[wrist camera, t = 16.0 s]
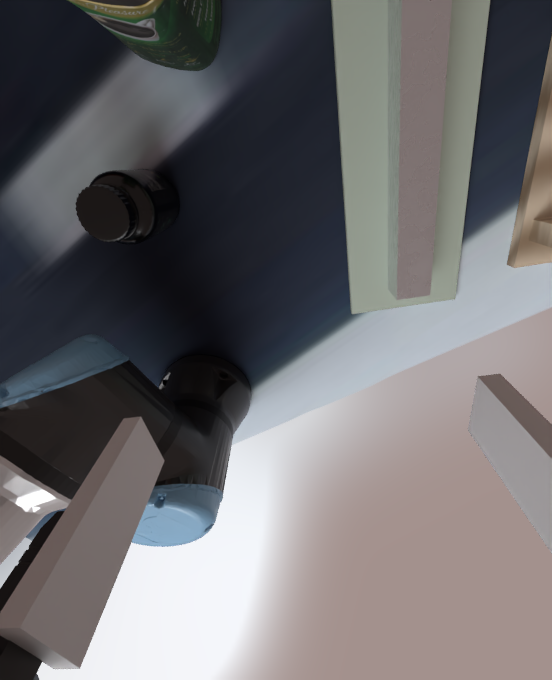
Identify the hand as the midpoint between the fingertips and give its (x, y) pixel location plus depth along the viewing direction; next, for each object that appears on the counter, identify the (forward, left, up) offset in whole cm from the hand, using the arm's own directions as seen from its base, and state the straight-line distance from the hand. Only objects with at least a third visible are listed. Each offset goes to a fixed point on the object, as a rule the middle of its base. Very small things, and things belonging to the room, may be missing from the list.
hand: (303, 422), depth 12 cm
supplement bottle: (+8, +16, -32) cm, 37 cm away
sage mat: (+9, -14, -32) cm, 36 cm away
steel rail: (+9, -14, -31) cm, 35 cm away
